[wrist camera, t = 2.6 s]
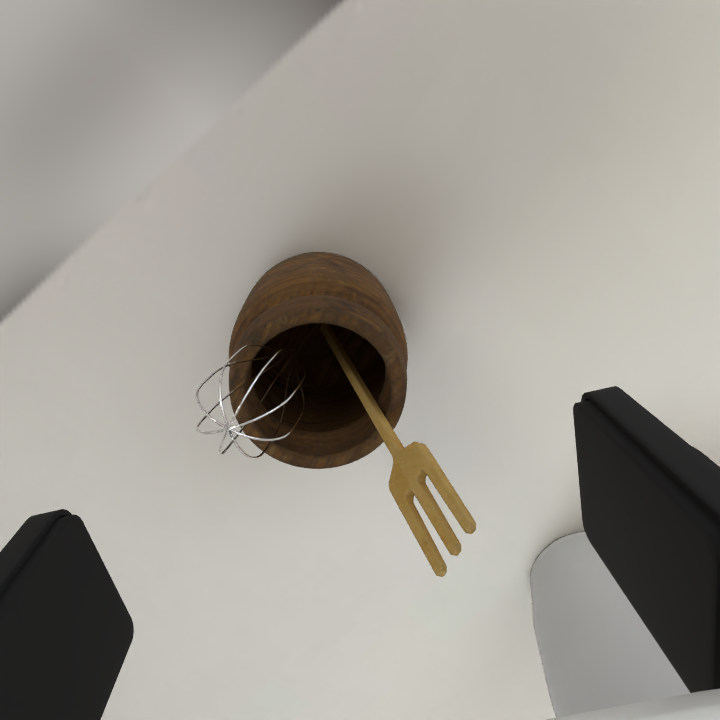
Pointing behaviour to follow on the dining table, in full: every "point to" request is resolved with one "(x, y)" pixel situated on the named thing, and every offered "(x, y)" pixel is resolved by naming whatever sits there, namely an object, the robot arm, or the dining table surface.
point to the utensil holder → (331, 383)
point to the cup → (593, 634)
